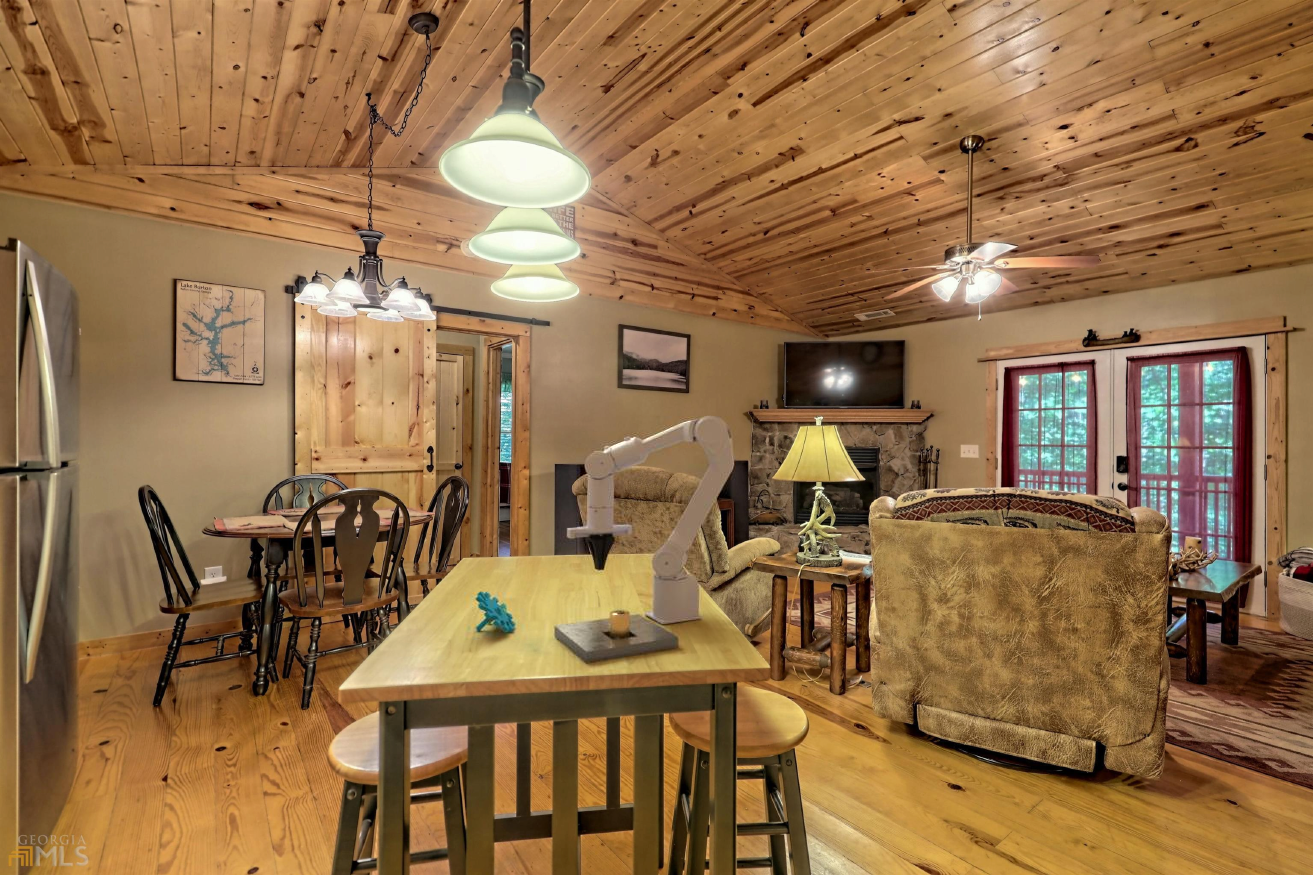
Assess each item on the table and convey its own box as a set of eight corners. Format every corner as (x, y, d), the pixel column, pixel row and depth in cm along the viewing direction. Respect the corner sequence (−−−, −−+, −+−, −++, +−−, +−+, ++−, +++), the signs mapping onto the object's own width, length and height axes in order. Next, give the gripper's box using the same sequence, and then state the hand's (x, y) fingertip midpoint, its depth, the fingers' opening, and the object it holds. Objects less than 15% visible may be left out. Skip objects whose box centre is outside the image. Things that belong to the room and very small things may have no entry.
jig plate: (638, 623, 130) (638, 614, 130) (678, 647, 116) (678, 636, 116) (554, 636, 121) (554, 625, 121) (586, 663, 107) (586, 651, 107)
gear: (508, 631, 118) (473, 591, 120) (485, 653, 118) (450, 613, 119) (525, 622, 129) (493, 585, 130) (504, 642, 129) (472, 605, 130)
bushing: (623, 640, 119) (623, 608, 119) (632, 646, 116) (633, 613, 116) (606, 643, 117) (606, 611, 117) (615, 649, 114) (615, 615, 114)
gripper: (622, 503, 144) (621, 562, 144) (562, 506, 137) (561, 568, 137) (636, 506, 138) (635, 568, 138) (574, 509, 131) (573, 575, 131)
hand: (599, 569), depth 137 cm, fingers closed
